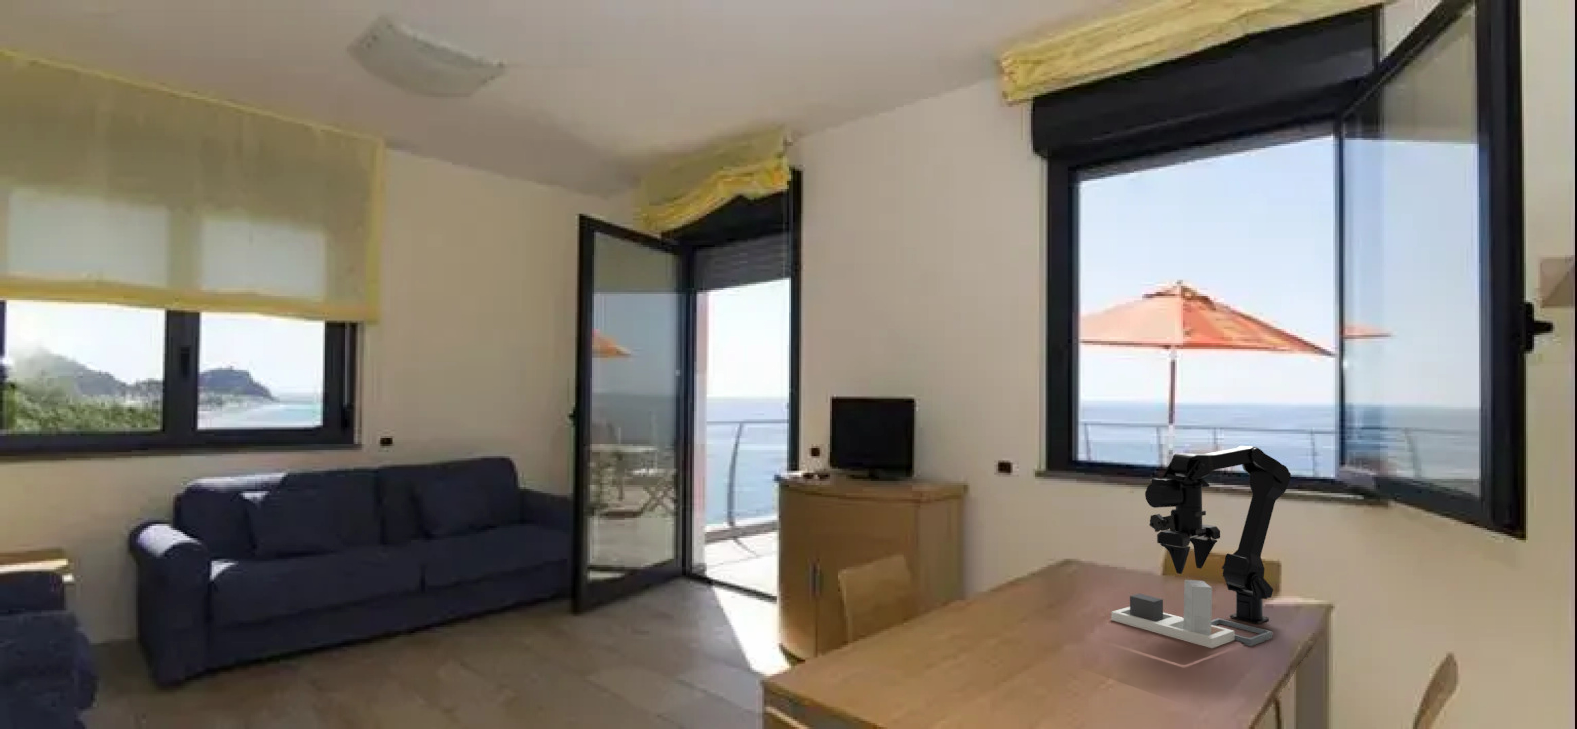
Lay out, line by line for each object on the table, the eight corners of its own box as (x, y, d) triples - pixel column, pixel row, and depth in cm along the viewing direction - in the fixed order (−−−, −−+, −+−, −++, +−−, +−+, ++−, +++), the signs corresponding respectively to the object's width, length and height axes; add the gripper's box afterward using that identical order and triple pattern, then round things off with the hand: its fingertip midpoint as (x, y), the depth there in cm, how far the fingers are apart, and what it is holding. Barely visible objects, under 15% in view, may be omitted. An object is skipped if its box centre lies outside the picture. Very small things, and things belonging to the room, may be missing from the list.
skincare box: (1211, 641, 174) (1212, 587, 174) (1191, 639, 175) (1192, 586, 174) (1202, 632, 180) (1203, 580, 180) (1182, 630, 180) (1183, 579, 180)
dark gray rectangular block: (1139, 618, 191) (1139, 593, 191) (1163, 624, 186) (1162, 599, 186) (1130, 620, 188) (1129, 595, 188) (1153, 627, 183) (1153, 601, 184)
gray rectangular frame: (1218, 624, 188) (1218, 618, 188) (1272, 638, 178) (1272, 631, 178) (1196, 631, 182) (1196, 625, 182) (1251, 646, 172) (1251, 639, 172)
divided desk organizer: (1134, 615, 195) (1134, 605, 195) (1234, 641, 175) (1234, 630, 175) (1111, 621, 189) (1111, 611, 189) (1211, 650, 169) (1211, 638, 169)
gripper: (1176, 498, 200) (1176, 559, 200) (1135, 504, 189) (1136, 569, 189) (1220, 504, 191) (1221, 568, 191) (1181, 511, 180) (1181, 579, 180)
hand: (1189, 570), depth 188 cm, fingers open, 9 cm apart
